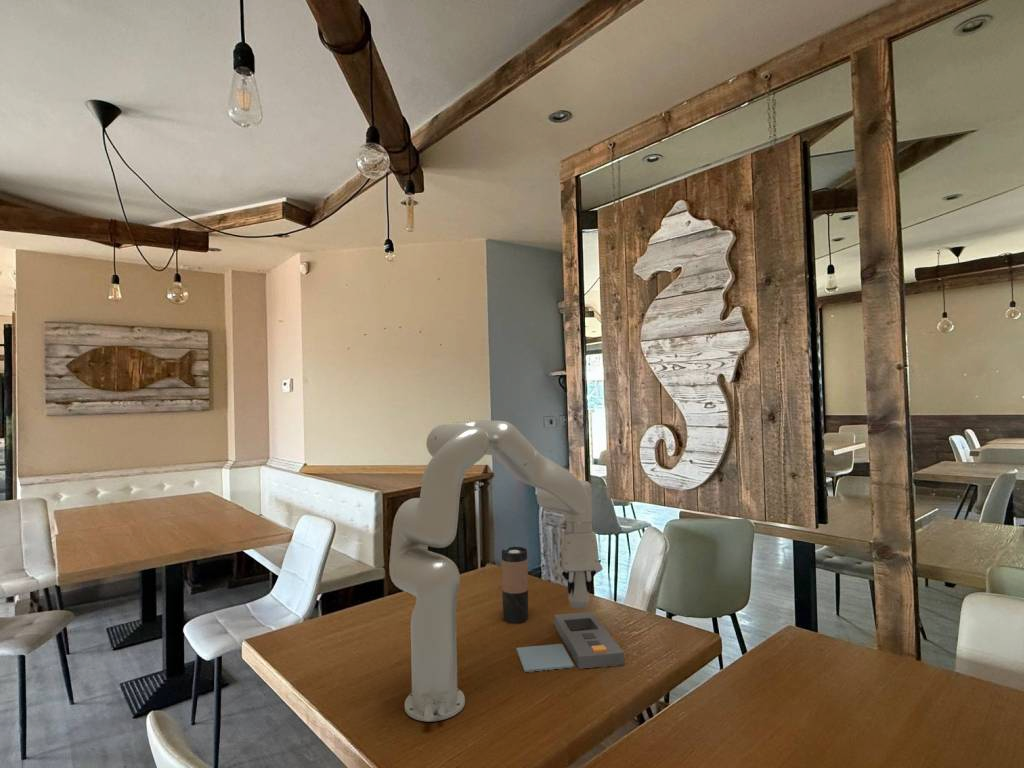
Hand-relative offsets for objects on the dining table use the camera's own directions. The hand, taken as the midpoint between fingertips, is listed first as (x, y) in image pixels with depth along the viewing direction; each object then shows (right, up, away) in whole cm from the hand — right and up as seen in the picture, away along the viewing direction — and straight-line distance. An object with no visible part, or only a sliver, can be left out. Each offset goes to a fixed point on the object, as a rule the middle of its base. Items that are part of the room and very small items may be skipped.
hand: (578, 594), depth 150 cm
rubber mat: (-10, -11, -13) cm, 20 cm away
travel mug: (-17, -12, +13) cm, 24 cm away
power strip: (+1, -11, -5) cm, 12 cm away
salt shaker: (0, -3, 0) cm, 3 cm away
